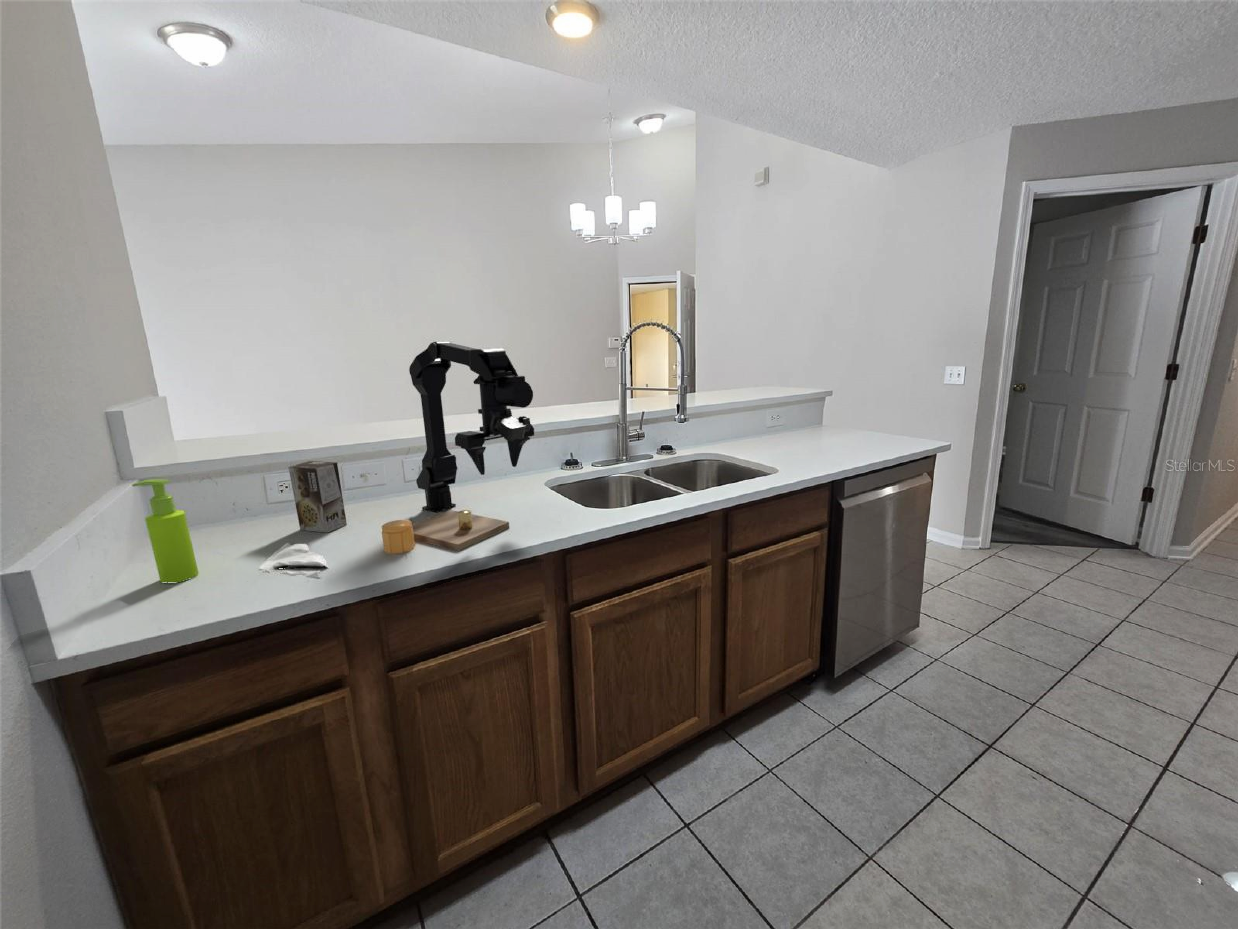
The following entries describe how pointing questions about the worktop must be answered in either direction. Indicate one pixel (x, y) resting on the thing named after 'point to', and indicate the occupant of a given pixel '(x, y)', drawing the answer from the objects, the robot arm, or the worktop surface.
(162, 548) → the soap dispenser
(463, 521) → the post
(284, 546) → the cloth
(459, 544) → the wooden board
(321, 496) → the coffee box
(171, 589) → the worktop surface
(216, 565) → the worktop surface
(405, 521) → the cap
